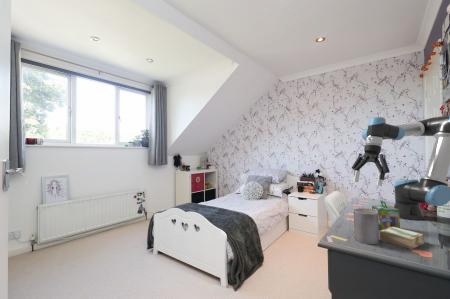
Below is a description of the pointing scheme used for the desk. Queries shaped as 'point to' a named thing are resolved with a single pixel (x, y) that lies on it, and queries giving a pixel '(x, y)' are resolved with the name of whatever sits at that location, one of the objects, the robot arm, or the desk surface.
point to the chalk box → (387, 216)
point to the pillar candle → (366, 226)
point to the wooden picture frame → (402, 237)
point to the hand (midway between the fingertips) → (366, 183)
